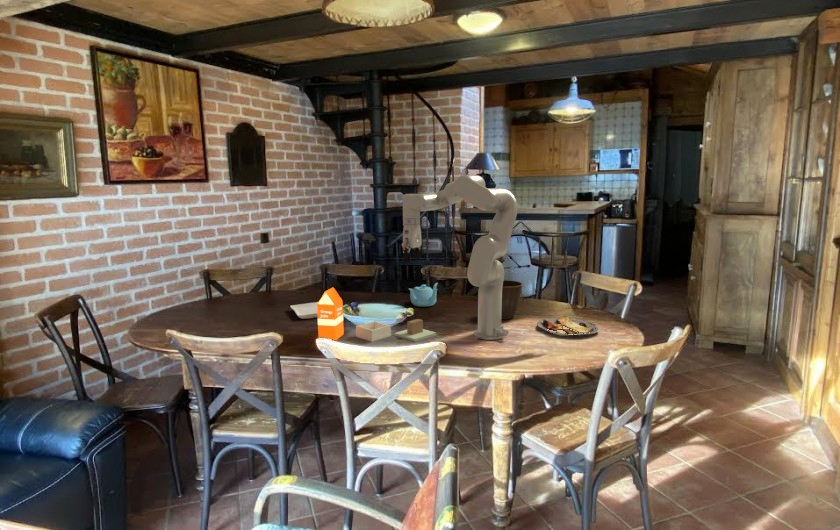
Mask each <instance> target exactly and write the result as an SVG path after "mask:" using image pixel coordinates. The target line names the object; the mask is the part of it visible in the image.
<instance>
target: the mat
mask: <svg viewBox="0 0 840 530" xmlns="http://www.w3.org/2000/svg"><path fill="white" fill-rule="evenodd" d="M436 336H439V334H437V333H436V335H434V336H431V337H428V338H425V339H422V340H418V341H412V340H409V339H405V338H402V337H399V336H395V333H394V334H391V337H395V338H398V339H402V340H405V341H409V342H412V343H419V342H421V341H425V340H428V339H431V338H434V337H436Z"/></svg>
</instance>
